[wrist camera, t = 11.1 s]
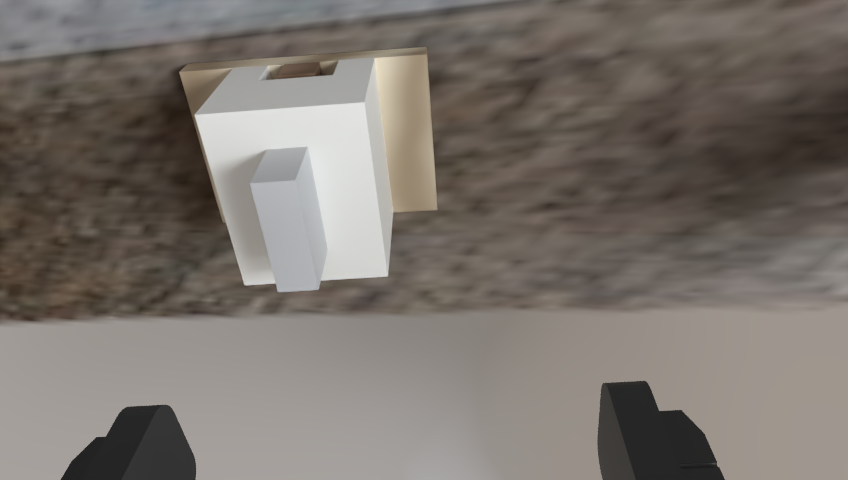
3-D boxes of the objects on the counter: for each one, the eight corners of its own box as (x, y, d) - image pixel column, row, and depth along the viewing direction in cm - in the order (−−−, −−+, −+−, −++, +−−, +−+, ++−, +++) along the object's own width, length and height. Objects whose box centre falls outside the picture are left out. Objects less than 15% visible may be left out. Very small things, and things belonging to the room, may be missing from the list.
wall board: (426, 46, 36) (427, 65, 33) (436, 198, 41) (437, 226, 38) (187, 63, 36) (166, 83, 33) (228, 211, 42) (214, 239, 39)
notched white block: (374, 57, 34) (357, 132, 26) (393, 211, 40) (384, 317, 31) (233, 68, 35) (168, 146, 26) (270, 220, 40) (227, 327, 31)
